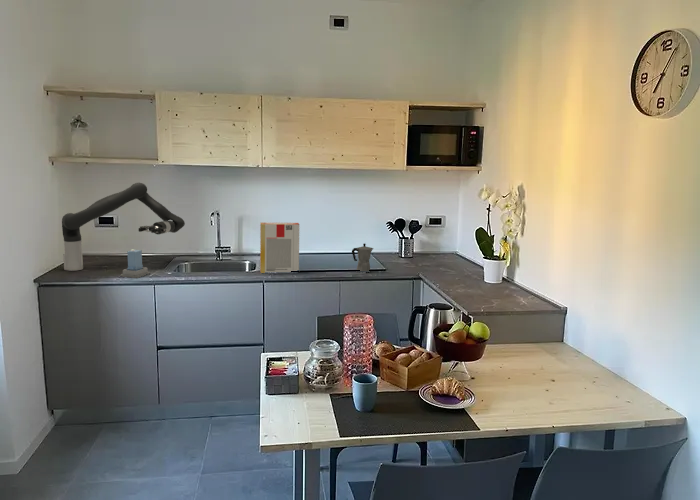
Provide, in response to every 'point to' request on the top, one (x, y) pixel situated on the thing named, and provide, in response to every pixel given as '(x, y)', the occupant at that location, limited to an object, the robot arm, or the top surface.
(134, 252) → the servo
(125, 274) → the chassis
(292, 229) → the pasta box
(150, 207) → the robot arm
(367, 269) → the coffeepot
